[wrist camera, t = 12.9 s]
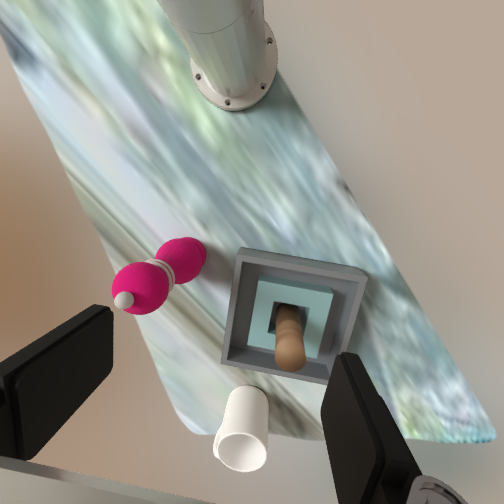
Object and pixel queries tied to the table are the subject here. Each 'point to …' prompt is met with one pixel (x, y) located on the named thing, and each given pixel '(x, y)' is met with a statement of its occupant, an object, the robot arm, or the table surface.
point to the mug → (243, 430)
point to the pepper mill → (157, 276)
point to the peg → (289, 339)
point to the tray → (296, 271)
